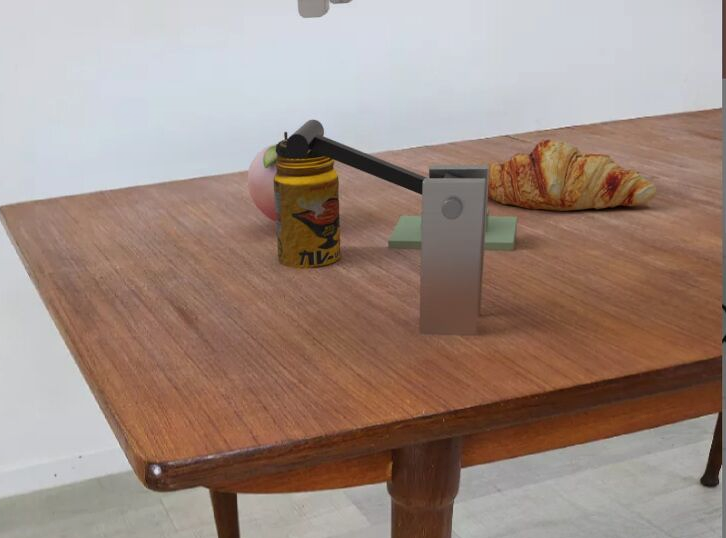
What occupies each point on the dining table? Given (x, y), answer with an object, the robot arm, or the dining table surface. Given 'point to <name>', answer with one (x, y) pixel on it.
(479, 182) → the bracket
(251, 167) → the decorative fruit
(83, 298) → the dining table surface
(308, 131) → the lever
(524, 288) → the dining table surface
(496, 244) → the block
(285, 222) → the condiment
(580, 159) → the croissant
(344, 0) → the robot arm
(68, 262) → the dining table surface
